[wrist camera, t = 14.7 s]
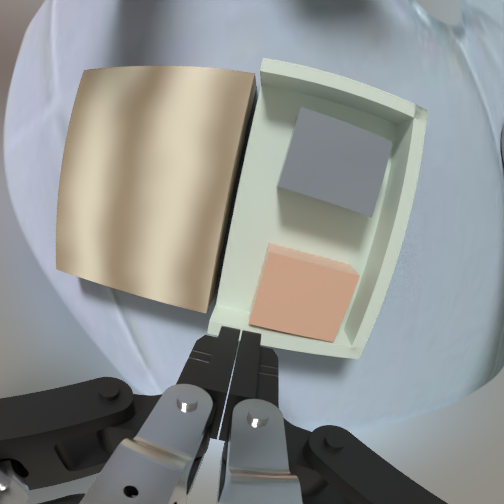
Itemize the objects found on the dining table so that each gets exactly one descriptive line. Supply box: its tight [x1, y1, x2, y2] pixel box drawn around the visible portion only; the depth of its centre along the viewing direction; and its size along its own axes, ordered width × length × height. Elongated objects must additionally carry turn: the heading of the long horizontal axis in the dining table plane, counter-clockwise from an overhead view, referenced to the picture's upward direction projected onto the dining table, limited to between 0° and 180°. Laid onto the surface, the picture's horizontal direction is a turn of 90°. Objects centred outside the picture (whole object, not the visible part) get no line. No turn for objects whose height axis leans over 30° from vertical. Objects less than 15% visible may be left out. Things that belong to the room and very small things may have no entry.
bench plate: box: [56, 66, 257, 313], centre depth 19 cm, size 14×17×3 cm
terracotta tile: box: [248, 243, 360, 342], centre depth 18 cm, size 6×5×2 cm
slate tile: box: [277, 107, 393, 218], centre depth 16 cm, size 6×5×2 cm
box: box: [207, 58, 427, 359], centre depth 18 cm, size 11×18×5 cm, turn 168°
